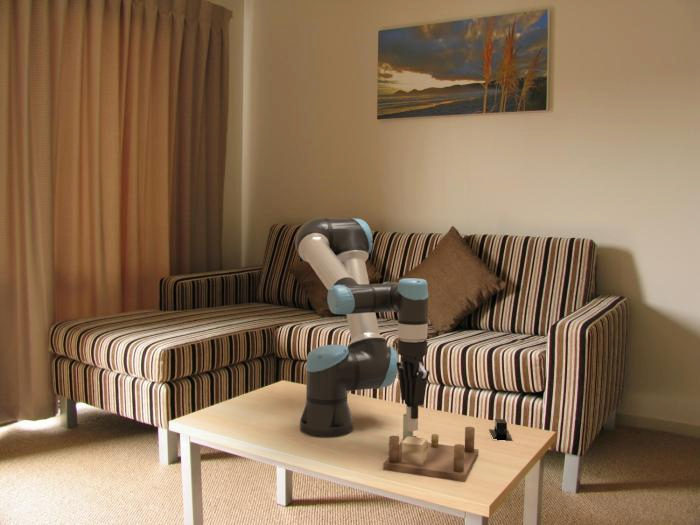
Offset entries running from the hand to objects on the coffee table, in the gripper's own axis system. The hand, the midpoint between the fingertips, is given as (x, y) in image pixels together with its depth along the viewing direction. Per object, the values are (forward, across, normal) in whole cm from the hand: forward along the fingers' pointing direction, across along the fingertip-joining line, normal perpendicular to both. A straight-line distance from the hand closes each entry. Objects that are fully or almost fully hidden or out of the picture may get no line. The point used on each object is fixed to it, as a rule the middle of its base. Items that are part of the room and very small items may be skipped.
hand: (412, 430), depth 183 cm
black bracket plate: (+7, +4, -31) cm, 32 cm away
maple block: (+5, -8, +4) cm, 10 cm away
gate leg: (+5, +1, -2) cm, 5 cm away
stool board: (+7, -7, -2) cm, 10 cm away
